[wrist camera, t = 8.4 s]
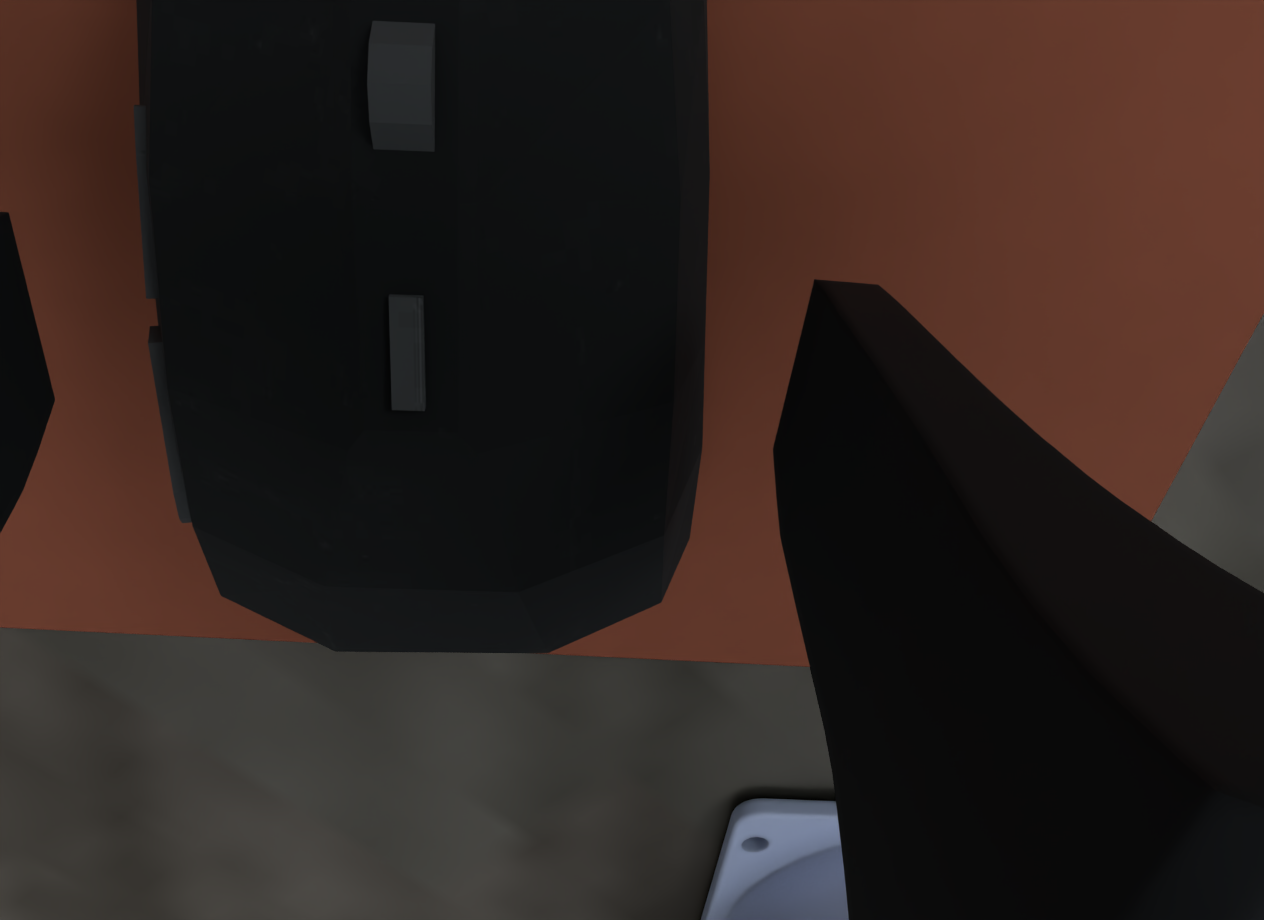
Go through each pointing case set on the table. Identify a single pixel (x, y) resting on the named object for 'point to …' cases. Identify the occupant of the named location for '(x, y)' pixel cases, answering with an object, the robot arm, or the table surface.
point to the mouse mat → (728, 272)
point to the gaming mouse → (429, 307)
